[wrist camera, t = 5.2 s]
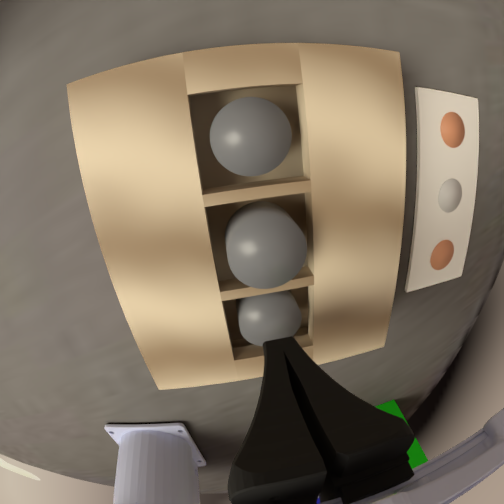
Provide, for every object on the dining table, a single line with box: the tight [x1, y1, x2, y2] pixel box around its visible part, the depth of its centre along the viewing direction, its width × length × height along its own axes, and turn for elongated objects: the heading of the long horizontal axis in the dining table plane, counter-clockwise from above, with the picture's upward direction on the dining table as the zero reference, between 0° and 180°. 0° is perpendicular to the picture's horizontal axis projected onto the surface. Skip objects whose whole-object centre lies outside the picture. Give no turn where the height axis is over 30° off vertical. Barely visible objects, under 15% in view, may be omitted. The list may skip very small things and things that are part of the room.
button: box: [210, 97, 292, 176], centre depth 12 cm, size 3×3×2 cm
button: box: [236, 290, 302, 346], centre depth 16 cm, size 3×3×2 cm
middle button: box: [225, 201, 307, 289], centre depth 13 cm, size 3×3×2 cm
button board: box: [67, 43, 406, 390], centre depth 14 cm, size 16×14×4 cm
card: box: [405, 87, 479, 292], centre depth 17 cm, size 14×6×1 cm, turn 6°
